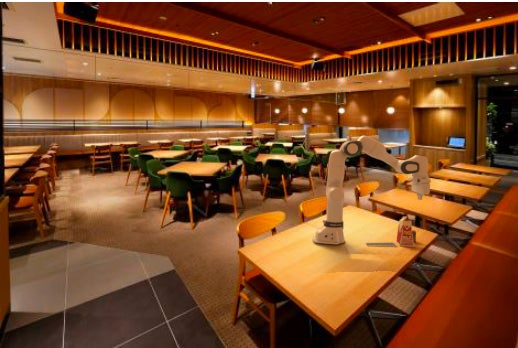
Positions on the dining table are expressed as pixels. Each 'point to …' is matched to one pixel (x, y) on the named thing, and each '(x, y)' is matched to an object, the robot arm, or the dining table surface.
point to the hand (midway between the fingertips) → (419, 199)
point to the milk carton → (405, 233)
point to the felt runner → (382, 244)
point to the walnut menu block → (414, 235)
